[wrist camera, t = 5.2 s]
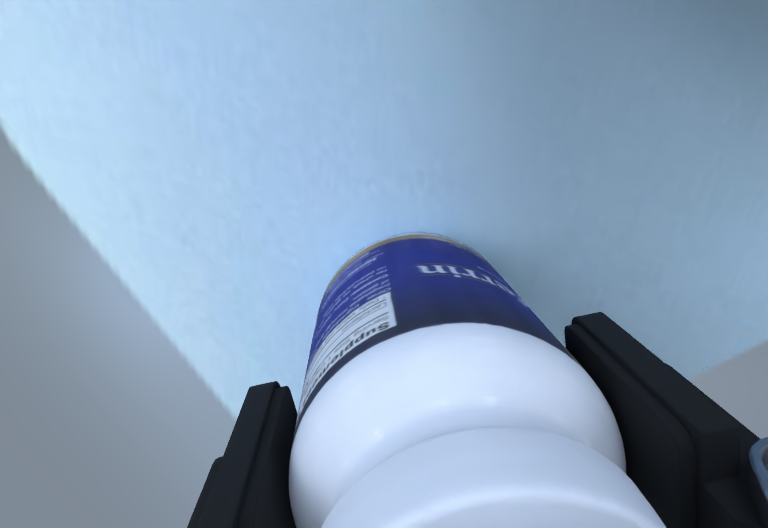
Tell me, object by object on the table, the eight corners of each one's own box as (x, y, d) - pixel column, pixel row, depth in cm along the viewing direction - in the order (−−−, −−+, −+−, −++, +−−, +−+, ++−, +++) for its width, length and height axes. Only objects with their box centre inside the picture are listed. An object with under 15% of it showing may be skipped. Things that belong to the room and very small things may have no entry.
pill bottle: (543, 301, 15) (862, 622, 6) (425, 432, 16) (526, 882, 7) (395, 186, 14) (486, 350, 4) (279, 337, 15) (148, 727, 6)
